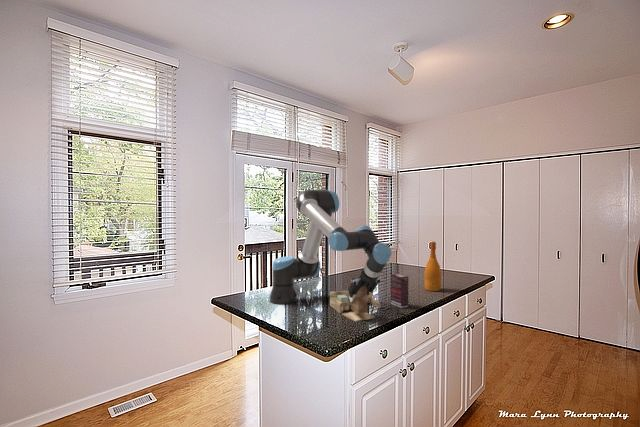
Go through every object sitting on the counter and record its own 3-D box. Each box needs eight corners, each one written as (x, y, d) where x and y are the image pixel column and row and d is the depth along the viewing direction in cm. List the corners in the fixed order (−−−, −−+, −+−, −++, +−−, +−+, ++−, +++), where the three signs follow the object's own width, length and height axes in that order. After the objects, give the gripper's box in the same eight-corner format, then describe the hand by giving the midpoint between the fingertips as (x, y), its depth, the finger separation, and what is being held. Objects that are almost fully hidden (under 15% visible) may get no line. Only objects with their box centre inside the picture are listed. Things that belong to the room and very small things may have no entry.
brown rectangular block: (358, 313, 155) (358, 282, 155) (351, 308, 163) (351, 279, 162) (367, 312, 157) (367, 282, 156) (359, 307, 164) (359, 278, 164)
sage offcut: (340, 303, 169) (340, 297, 169) (337, 301, 174) (337, 295, 174) (348, 303, 170) (348, 297, 170) (344, 300, 175) (344, 294, 175)
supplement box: (408, 307, 175) (409, 276, 175) (401, 308, 173) (401, 277, 172) (397, 302, 183) (397, 273, 182) (390, 304, 180) (390, 274, 180)
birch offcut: (340, 311, 168) (340, 304, 168) (336, 307, 175) (336, 300, 175) (349, 310, 170) (349, 303, 169) (344, 306, 176) (344, 299, 176)
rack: (339, 313, 164) (340, 299, 164) (329, 305, 178) (329, 291, 177) (384, 308, 172) (384, 295, 171) (371, 301, 185) (371, 288, 185)
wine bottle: (442, 289, 213) (443, 241, 212) (438, 292, 204) (439, 242, 204) (426, 287, 218) (427, 240, 217) (422, 290, 210) (422, 241, 209)
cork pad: (355, 321, 152) (355, 320, 152) (342, 314, 162) (342, 313, 162) (375, 317, 158) (375, 316, 158) (361, 311, 167) (361, 310, 167)
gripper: (355, 280, 142) (340, 308, 158) (392, 277, 148) (374, 304, 164) (350, 265, 147) (336, 294, 163) (386, 263, 152) (369, 291, 168)
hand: (355, 299), depth 163 cm, fingers closed on brown rectangular block, 4 cm apart
